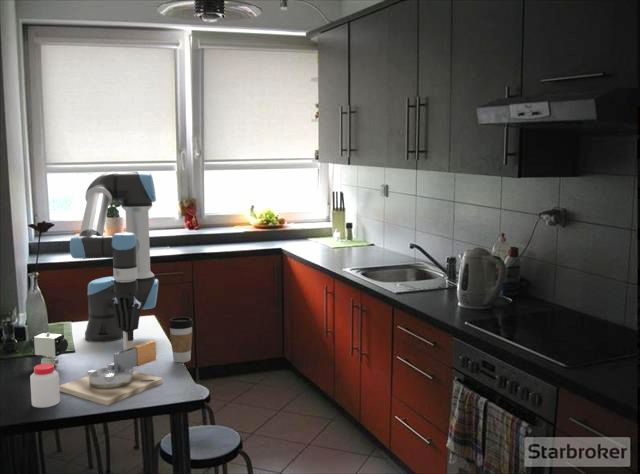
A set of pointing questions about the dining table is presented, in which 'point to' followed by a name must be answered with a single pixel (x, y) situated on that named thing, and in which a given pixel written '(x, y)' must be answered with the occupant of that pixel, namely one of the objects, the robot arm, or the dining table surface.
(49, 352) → the pneumatic valve
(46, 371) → the pill bottle
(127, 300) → the robot arm
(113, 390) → the light wood square board
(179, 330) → the coffee cup
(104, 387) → the silver saucepan
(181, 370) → the dining table surface
